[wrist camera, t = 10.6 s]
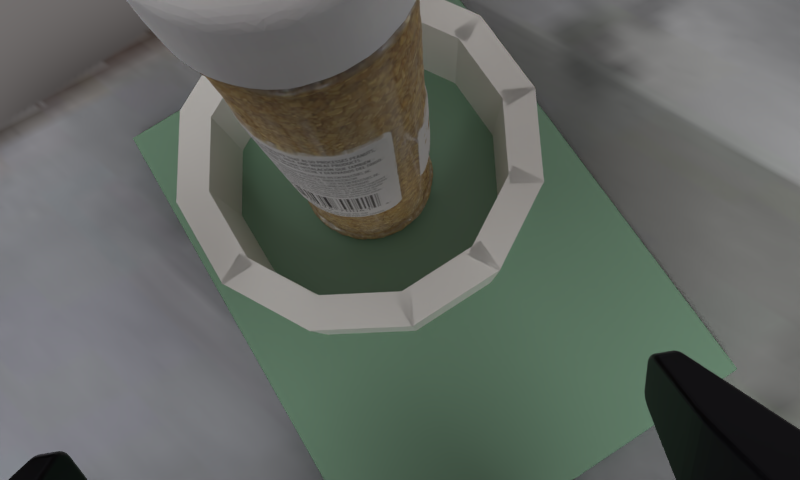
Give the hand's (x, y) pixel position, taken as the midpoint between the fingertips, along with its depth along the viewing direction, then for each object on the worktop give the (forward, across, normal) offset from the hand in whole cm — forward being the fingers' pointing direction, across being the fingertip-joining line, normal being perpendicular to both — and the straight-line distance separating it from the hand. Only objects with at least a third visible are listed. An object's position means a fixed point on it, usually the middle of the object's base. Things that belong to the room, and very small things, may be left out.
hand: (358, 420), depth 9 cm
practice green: (+11, -1, +4) cm, 12 cm away
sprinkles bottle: (+12, 0, +2) cm, 13 cm away
